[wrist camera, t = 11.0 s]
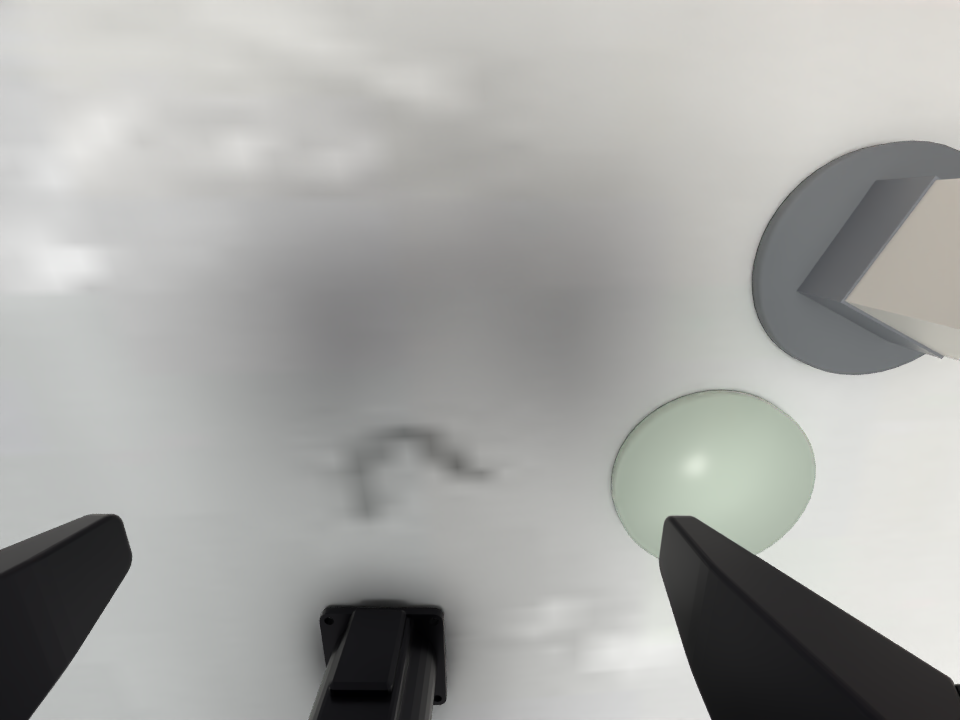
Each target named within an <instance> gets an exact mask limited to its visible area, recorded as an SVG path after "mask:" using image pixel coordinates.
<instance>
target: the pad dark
mask: <svg viewBox="0 0 960 720" xmlns="http://www.w3.org/2000/svg"><path fill="white" fill-rule="evenodd" d="M925 176H937V177H939V178H940V179H942V180H944V179H958V178H960V151H958V150H956V149H953V148H951V147H948V146H946V145H942V144H938V143H933V142H926V141H903V142H894V143H888V144H882V145H877V146H872V147H867V148H863V149H860V150H857V151H854V152H851V153H848V154H846V155H843V156H841V157H839V158H837V159H835V160H833V161H831V162H829V163H828V164H826V165H825V166H823V167H822V168H820V169H818V170H817V171H815V172H814V173H813V174H812V175H810V176H809V177H808V178H807V179H805V180H804V181H803V182H802V183H801V184H800V185H799V186H798V187H797V188H796V189H795V190H794V191H793V192H792V193H791V194H790V195H789V196H788V197H787V198H786V200H785V201H784V202H783V203H782V204H781V206H780V207H779V208H778V210H777V211H776V213H775V214H774V216H773V218H772V219H771V221H770V222H769V224H768V226H767V228H766V230H765V232H764V234H763V237H762V239H761V242H760V245H759V247H758V250H757V254H756V258H755V263H754V269H753V278H752V284H753V298H754V304H755V308H756V311H757V314H758V317H759V320H760V322H761V324H762V326H763V328H764V330H765V331H766V332H767V334H768V335H769V337H770V338H771V339H772V341H773V342H774V343H775V344H776V345H777V346H778V347H779V348H780V349H782V350H783V351H785V352H786V353H787V354H789V355H790V356H792V357H794V358H796V359H798V360H800V361H802V362H804V363H806V364H808V365H810V366H812V367H814V368H817V369H820V370H823V371H826V372H831V373H836V374H846V375H861V374H871V373H877V372H882V371H886V370H889V369H893V368H896V367H899V366H901V365H904V364H906V363H909V362H911V361H913V360H915V359H917V358H919V357H921V356H922V355H924V354H926V353H923V352H919V351H916V350H913V349H910V348H907V347H904V346H901V345H898V344H895V343H891V342H888V341H886V340H884V339H882V338H881V337H879V336H877V335H875V334H873V333H872V332H870V331H868V330H866V329H864V328H863V327H861V326H859V325H857V324H855V323H854V322H852V321H850V320H848V319H846V318H844V317H843V316H841V315H839V314H837V313H835V312H834V311H832V310H830V309H828V308H826V307H825V306H823V305H821V304H819V303H817V302H816V301H814V300H812V299H810V298H808V297H807V296H805V295H803V294H801V293H799V292H798V291H797V290H798V288H799V287H800V286H801V284H802V283H803V281H804V280H805V279H806V277H807V276H808V274H809V273H810V272H811V270H812V269H813V267H814V266H815V265H816V263H817V262H818V260H819V259H820V258H821V256H822V255H823V254H824V252H825V251H826V249H827V248H828V247H829V245H830V244H831V242H832V241H833V240H834V238H835V237H836V235H837V234H838V233H839V231H840V230H841V228H842V227H843V226H844V224H845V223H846V221H847V220H848V219H849V217H850V216H851V214H852V213H853V212H854V210H855V209H856V207H857V206H858V205H859V203H860V202H861V200H862V199H863V198H864V196H865V195H866V193H867V192H868V191H869V189H870V188H871V186H872V185H873V184H874V182H875V181H876V180H888V179H900V178H913V177H925Z"/></svg>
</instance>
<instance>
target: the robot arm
mask: <svg viewBox="0 0 960 720" xmlns="http://www.w3.org/2000/svg"><path fill="white" fill-rule="evenodd" d="M131 562H132V552H131V548H130V545H129V541H128V538H127V535H126V531H125V528H124V524H123V521H122V519H121V518H120V517H119V516H117V515H115V514H90V515H86V516H83V517H81V518H78V519H76V520H73V521H71V522H68V523H66V524H63V525H61V526H58V527H56V528H54V529H51V530H49V531H46V532H44V533H41V534H39V535H36V536H34V537H31V538H29V539H26V540H24V541H21V542H19V543H16V544H14V545H11V546H9V547H6V548H4V549H1V550H0V720H29V719H30V717H31V716H32V715H33V713H34V712H35V711H36V709H37V708H38V707H39V705H40V704H41V702H42V701H43V700H44V698H45V697H46V696H47V694H48V693H49V692H50V690H51V689H52V688H53V686H54V685H55V684H56V682H57V681H58V679H59V678H60V677H61V675H62V674H63V672H64V671H65V670H66V668H67V667H68V665H69V664H70V662H71V661H72V659H73V658H74V656H75V655H76V653H77V652H78V650H79V649H80V647H81V646H82V644H83V642H84V641H85V639H86V638H87V636H88V634H89V633H90V631H91V630H92V628H93V626H94V625H95V623H96V622H97V620H98V619H99V617H100V615H101V614H102V612H103V611H104V609H105V607H106V606H107V604H108V603H109V601H110V599H111V598H112V596H113V595H114V593H115V592H116V590H117V588H118V587H119V585H120V584H121V582H122V580H123V579H124V577H125V576H126V574H127V572H128V571H129V569H130V566H131ZM659 567H660V572H661V575H662V579H663V582H664V585H665V588H666V592H667V595H668V598H669V601H670V605H671V608H672V611H673V614H674V618H675V621H676V624H677V627H678V631H679V634H680V637H681V640H682V644H683V647H684V650H685V653H686V656H687V659H688V662H689V665H690V668H691V671H692V674H693V676H694V679H695V681H696V684H697V686H698V689H699V691H700V694H701V696H702V698H703V701H704V703H705V706H706V708H707V710H708V713H709V715H710V718H711V720H960V684H955V685H954V682H953V680H952V679H951V678H950V677H948V676H947V675H945V674H943V673H942V672H940V671H939V670H937V669H935V668H934V667H932V666H931V665H929V664H927V663H926V662H924V661H923V660H921V659H920V658H918V657H916V656H915V655H913V654H912V653H910V652H908V651H907V650H905V649H904V648H902V647H900V646H899V645H897V644H896V643H894V642H893V641H891V640H889V639H888V638H886V637H885V636H883V635H881V634H880V633H878V632H877V631H875V630H873V629H872V628H870V627H869V626H867V625H865V624H864V623H862V622H861V621H859V620H858V619H856V618H854V617H853V616H851V615H850V614H848V613H846V612H845V611H843V610H842V609H840V608H838V607H837V606H835V605H834V604H832V603H831V602H829V601H827V600H826V599H824V598H823V597H821V596H819V595H818V594H816V593H815V592H813V591H811V590H810V589H808V588H807V587H805V586H803V585H802V584H800V583H799V582H797V581H796V580H794V579H792V578H791V577H789V576H788V575H786V574H784V573H783V572H781V571H780V570H778V569H776V568H775V567H773V566H772V565H770V564H769V563H767V562H765V561H764V560H762V559H761V558H759V557H757V556H756V555H754V554H753V553H751V552H749V551H748V550H746V549H745V548H743V547H741V546H740V545H738V544H737V543H735V542H734V541H732V540H730V539H729V538H727V537H726V536H724V535H722V534H721V533H719V532H718V531H716V530H714V529H713V528H711V527H710V526H708V525H707V524H705V523H703V522H702V521H700V520H699V519H697V518H695V517H693V516H668V517H667V518H666V519H665V521H664V525H663V532H662V539H661V546H660V554H659ZM329 617H330V618H329ZM432 618H436V619H432ZM320 627H321V634H322V641H323V648H324V655H325V662H326V671H325V674H324V677H323V679H322V682H321V685H320V688H319V691H318V694H317V696H316V699H315V702H314V705H313V708H312V711H311V713H310V716H309V719H308V720H431V718H432V709H433V705H441V704H443V703H444V702H445V701H446V696H447V682H446V656H445V629H444V614H443V612H442V611H441V610H439V609H437V608H351V607H330V608H326V609H324V610H323V612H322V614H321V617H320Z"/></svg>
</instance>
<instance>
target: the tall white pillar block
mask: <svg viewBox="0 0 960 720" xmlns="http://www.w3.org/2000/svg"><path fill="white" fill-rule="evenodd" d="M797 291H798V292H799V293H801V294H803V295H805V296H807V297H808V298H810V299H812V300H814V301H816V302H817V303H819V304H821V305H823V306H825V307H826V308H828V309H830V310H832V311H834V312H835V313H837V314H839V315H841V316H843V317H844V318H846V319H848V320H850V321H852V322H854V323H855V324H857V325H859V326H861V327H863V328H864V329H866V330H868V331H870V332H872V333H873V334H875V335H877V336H879V337H881V338H882V339H884V340H886V341H888V342H891V343H895V344H898V345H901V346H904V347H907V348H910V349H913V350H916V351H919V352H923V353H926V354H929V355H932V356H935V357H938V358H941V359H942V358H943V357H944V356H946V357H949V358H952V359H955V360H959V361H960V178H958V179H944V180H942V179H940V178H939V177H937V176H925V177H913V178H900V179H888V180H876V181H875V182H874V184H873V185H872V186H871V188H870V189H869V191H868V192H867V193H866V195H865V196H864V198H863V199H862V200H861V202H860V203H859V205H858V206H857V207H856V209H855V210H854V212H853V213H852V214H851V216H850V217H849V219H848V220H847V221H846V223H845V224H844V226H843V227H842V228H841V230H840V231H839V233H838V234H837V235H836V237H835V238H834V240H833V241H832V242H831V244H830V245H829V247H828V248H827V249H826V251H825V252H824V254H823V255H822V256H821V258H820V259H819V260H818V262H817V263H816V265H815V266H814V267H813V269H812V270H811V272H810V273H809V274H808V276H807V277H806V279H805V280H804V281H803V283H802V284H801V286H800V287H799V288H798V290H797Z"/></svg>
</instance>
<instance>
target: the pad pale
mask: <svg viewBox="0 0 960 720" xmlns="http://www.w3.org/2000/svg"><path fill="white" fill-rule="evenodd" d="M815 469H816V465H815V458H814V453H813V450H812V447H811V444H810V442H809V440H808V438H807V436H806V434H805V433H804V431H803V430H802V429H801V427H800V426H799V425H798V424H797V423H796V422H795V421H794V420H793V419H792V418H791V417H790V416H788V415H787V414H785V413H784V412H783V411H781V410H780V409H778V408H777V407H775V406H774V405H772V404H771V403H769V402H767V401H765V400H763V399H761V398H759V397H756V396H753V395H750V394H747V393H742V392H737V391H727V390H715V391H705V392H699V393H694V394H691V395H687V396H684V397H681V398H678V399H676V400H674V401H671V402H669V403H667V404H665V405H664V406H662V407H660V408H658V409H657V410H655V411H654V412H653V413H651V414H650V415H649V416H647V417H646V418H645V419H644V420H643V421H642V422H641V423H639V424H638V425H637V426H636V427H635V429H634V430H633V431H632V432H631V433H630V435H629V436H628V437H627V439H626V440H625V442H624V443H623V445H622V447H621V449H620V451H619V453H618V455H617V458H616V461H615V464H614V467H613V473H612V487H611V489H612V496H613V501H614V504H615V508H616V510H617V513H618V515H619V517H620V520H621V522H622V524H623V526H624V528H625V530H626V531H627V532H628V534H629V535H630V537H631V538H632V539H633V540H634V541H635V542H636V543H637V544H638V545H639V546H640V547H641V548H642V549H644V550H645V551H646V552H648V553H650V554H651V555H653V556H655V557H656V558H659V554H660V546H661V539H662V532H663V525H664V521H665V519H666V518H667V517H668V516H693V517H695V518H697V519H699V520H700V521H702V522H703V523H705V524H707V525H708V526H710V527H711V528H713V529H714V530H716V531H718V532H719V533H721V534H722V535H724V536H726V537H727V538H729V539H730V540H732V541H734V542H735V543H737V544H738V545H740V546H741V547H743V548H745V549H746V550H748V551H749V552H751V553H753V554H754V555H756V554H758V553H760V552H762V551H763V550H765V549H767V548H768V547H770V546H772V545H773V544H774V543H775V542H777V541H778V540H779V539H781V538H782V537H783V536H784V535H785V534H786V533H787V532H788V531H789V530H790V529H791V528H792V527H793V526H794V524H795V523H796V522H797V521H798V519H799V518H800V516H801V515H802V513H803V512H804V510H805V508H806V506H807V504H808V502H809V500H810V497H811V494H812V491H813V488H814V482H815Z"/></svg>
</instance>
